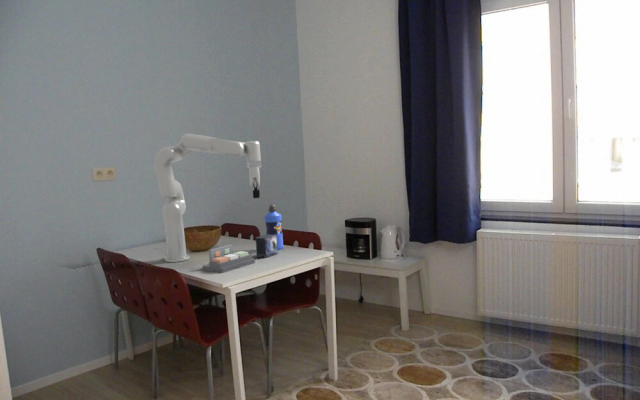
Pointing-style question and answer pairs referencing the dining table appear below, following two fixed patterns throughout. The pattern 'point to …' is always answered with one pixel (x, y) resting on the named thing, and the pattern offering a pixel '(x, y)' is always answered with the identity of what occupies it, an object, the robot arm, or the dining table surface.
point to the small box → (266, 245)
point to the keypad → (228, 264)
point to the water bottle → (274, 225)
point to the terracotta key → (220, 259)
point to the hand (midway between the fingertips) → (256, 197)
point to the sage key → (241, 253)
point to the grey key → (231, 256)
